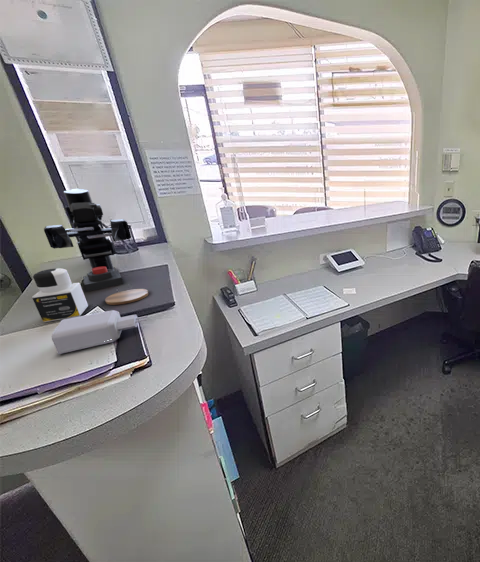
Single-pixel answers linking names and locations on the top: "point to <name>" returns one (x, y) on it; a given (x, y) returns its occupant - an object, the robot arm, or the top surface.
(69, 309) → the medicine bottle
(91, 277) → the button block
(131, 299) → the coaster
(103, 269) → the call button
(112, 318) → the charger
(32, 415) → the top surface
